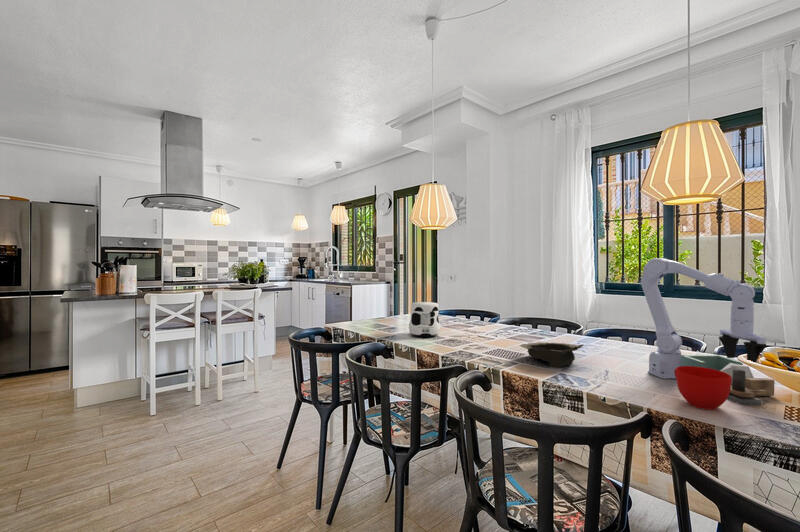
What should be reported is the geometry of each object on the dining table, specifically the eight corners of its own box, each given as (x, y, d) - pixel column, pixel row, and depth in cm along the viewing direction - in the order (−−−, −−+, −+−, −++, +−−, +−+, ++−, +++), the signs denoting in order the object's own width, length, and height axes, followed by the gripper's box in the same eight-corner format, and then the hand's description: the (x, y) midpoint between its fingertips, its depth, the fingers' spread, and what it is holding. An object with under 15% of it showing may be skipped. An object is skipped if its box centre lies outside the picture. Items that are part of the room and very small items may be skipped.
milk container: (424, 331, 225) (425, 301, 225) (446, 336, 212) (446, 303, 212) (402, 335, 214) (402, 303, 214) (423, 340, 201) (423, 306, 201)
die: (732, 393, 126) (756, 373, 122) (708, 374, 133) (731, 354, 130) (742, 398, 129) (766, 378, 126) (719, 379, 136) (741, 360, 133)
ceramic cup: (694, 393, 124) (695, 362, 124) (743, 414, 107) (744, 379, 107) (656, 393, 123) (656, 362, 123) (698, 414, 107) (699, 379, 106)
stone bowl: (575, 373, 143) (574, 349, 144) (511, 367, 158) (510, 344, 159) (589, 359, 163) (587, 337, 163) (531, 354, 178) (529, 334, 178)
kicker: (740, 401, 115) (740, 373, 115) (720, 393, 122) (721, 366, 122) (790, 401, 116) (791, 373, 115) (768, 393, 123) (768, 367, 122)
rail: (741, 404, 114) (742, 399, 114) (693, 384, 132) (693, 380, 132) (761, 404, 114) (761, 400, 114) (710, 384, 132) (710, 380, 132)
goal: (700, 381, 135) (701, 362, 135) (679, 373, 145) (680, 354, 145) (742, 381, 136) (742, 362, 136) (718, 373, 146) (719, 355, 146)
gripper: (775, 324, 120) (774, 366, 120) (733, 316, 134) (732, 355, 135) (753, 324, 120) (752, 366, 120) (714, 316, 134) (713, 355, 135)
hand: (740, 360), depth 127 cm, fingers open, 7 cm apart
